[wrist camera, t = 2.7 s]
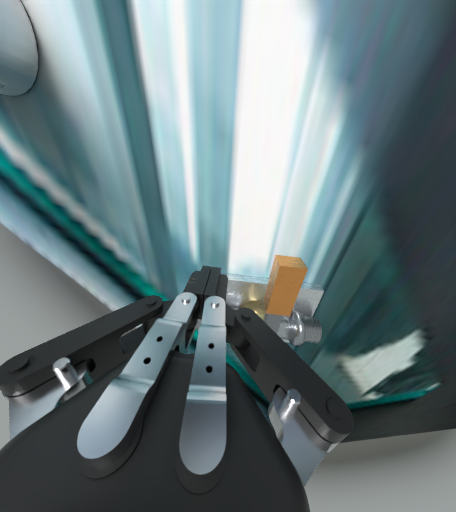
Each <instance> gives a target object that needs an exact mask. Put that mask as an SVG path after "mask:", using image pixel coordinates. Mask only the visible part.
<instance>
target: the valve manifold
mask: <svg viewBox="0 0 456 512" xmlns="http://www.w3.org/2000/svg"><path fill="white" fill-rule="evenodd" d="M220 274H226V273H220ZM226 275H227V277H228V286H227V294H226V303H227V304H228V306H229V307H231V308H233V309H235V310H238V309H239V308H244V307H245V308H249V309H252V310H253V311H254V312H255V313H256V314H257V315H258V316H259V317H260V318H261V319H262V320H264V316H265V313H266V310H265V304H264V297H265V293H266V289H267V285H268V282H269V278H260V277H252V276H243V275H235V274H226ZM323 293H324V290H323V288H322V287H321V285H320V284H312V283H302V286H301V288H300V291H299V294H298V296H297V299H296V301H295V304H294V307H293V309H292V312H291V315H290V316H284V315H283V318H282V321H281V324H280V327H279V329H278V332H277V335H278V336H279V337H280V338H281V339H282V340H283V341H284V342H288V343H291V344H292V345H299V346H301V345H302V344H303V343H304V342H312V343H318V342H319V341H320V339H321V334H322V330H321V325H320V322H319V320H318V319H317V318H316V317H312V316H313V314H314V312H315V310H316V307H317V305H318V303H319V301H320V299H321V297H322V295H323ZM201 321H202V320H200V319H198V321H197V325H196V329H198V332H199V328H200V325H201Z"/></svg>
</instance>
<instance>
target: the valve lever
mask: <svg viewBox="0 0 456 512" xmlns="http://www.w3.org/2000/svg"><path fill="white" fill-rule="evenodd" d="M307 270H308V268H307V267H306V265H305V264H304V262H303V261H302V259H301V258H297V257H289V256H280V255H275V259H274V263H273V266H272V270H271V274H270V278H269V282H268V285H267V289H266V293H265V297H264V304H265V310H266V313H265V316H264V320H263V321H264V322H265V323H266V324H267V325H268V326H269V327H270V328H271V329H272V330H273V331H274V332H275V333H276V334H277V332H278V329H279V327H280V324H281V321H282V318H283V315H284V316H290V315H291V312H292V309H293V307H294V304H295V301H296V299H297V296H298V294H299V291H300V288H301V286H302V283H303V280H304V278H305V275H306V272H307Z"/></svg>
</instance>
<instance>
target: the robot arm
mask: <svg viewBox="0 0 456 512" xmlns="http://www.w3.org/2000/svg"><path fill="white" fill-rule="evenodd" d="M37 71H38V51H37V45H36V39H35V36H34V32H33V29H32V26H31V23H30V20H29V18H28V16H27V13H26V11H25V9H24V7H23V5H22V3H21V1H20V0H0V94H3V95H7V96H18V95H20V94H23V93H25V92H27V91H28V90H29V89H30V88H31V87H32V85H33V83H34V81H35V79H36V75H37ZM220 273H221V268H218V267H210V266H203V267H202V269H201V271H195V272H194V273H192V274H191V276H190V279H189V281H188V283H187V285H186V287H185V289H184V291H183V293H181V294H179V295H178V296H177V297H176V299H175V300H171V301H163V300H162V298H161V297H159V296H155V295H152V296H148V297H145V298H143V299H141V300H138V301H136V302H134V303H132V304H130V305H127V306H125V307H123V308H121V309H118V310H116V311H114V312H112V313H110V314H107V315H105V316H103V317H101V318H98V319H96V320H94V321H92V322H90V323H87V324H85V325H83V326H81V327H78V328H76V329H74V330H72V331H69V332H67V333H65V334H63V335H61V336H58V337H56V338H54V339H52V340H49V341H47V342H45V343H43V344H40V345H38V346H36V347H34V348H32V349H29V350H27V351H25V352H23V353H21V354H18V355H17V356H14V357H12V358H11V359H9V360H8V361H6V362H5V363H4V364H2V365H1V366H0V390H1V391H2V394H3V395H4V397H6V398H7V399H8V400H9V417H10V441H9V442H8V443H7V444H6V445H5V446H4V447H3V448H2V449H1V450H0V512H310V509H309V504H308V500H307V496H306V492H305V489H304V486H305V485H306V483H307V482H308V480H309V479H310V477H311V476H312V474H313V473H314V471H315V469H316V468H317V466H318V465H319V463H320V461H321V460H322V459H323V457H324V456H325V455H327V454H328V453H329V452H330V451H331V450H332V449H333V448H334V447H335V446H336V445H337V444H339V443H340V442H341V441H342V440H343V439H344V438H345V437H346V436H347V435H348V434H349V433H351V432H352V430H353V427H354V420H353V416H352V414H351V411H350V410H349V408H348V406H347V405H346V404H345V402H344V401H343V400H342V399H341V398H340V397H339V396H338V395H337V394H336V393H335V392H334V391H333V390H332V389H331V388H330V387H329V386H328V385H327V384H326V383H325V382H324V381H323V380H322V379H321V378H320V377H319V376H318V375H317V374H316V373H315V372H314V371H313V370H312V369H311V368H310V367H309V366H308V365H307V364H306V363H305V362H304V361H303V360H302V359H301V358H300V357H299V356H298V355H297V354H296V353H295V352H294V351H293V350H292V349H291V348H290V347H289V346H288V345H287V344H286V343H285V342H284V341H283V340H282V339H281V338H280V337H279V336H278V335H277V334H276V333H275V332H274V331H273V330H272V329H271V328H270V327H269V326H268V325H267V324H266V323H265V322H264V321H263V320H262V319H261V318H260V317H259V316H258V315H257V314H256V313H255V312H254V311H253V310H252V309H249V308H245V307H244V308H239V309H238V310H235V309H233V308H231V307H229V306H228V304H227V303H226V294H227V286H228V277H227V275H226V274H220ZM198 319H200V320H202V321H201V325H200V328H199V333H198V339H197V345H196V351H195V353H193V354H187V351H188V348H189V346H190V343H191V340H192V338H193V335H194V332H195V330H196V325H197V321H198ZM140 324H142V326H140V327H139V328H137V329H135V330H133V331H131V332H130V333H128V334H126V335H124V336H122V334H124V333H125V332H127V331H129V330H131V329H133V328H134V327H136V326H138V325H140ZM121 336H122V337H121ZM226 342H228V343H230V345H231V348H232V349H233V351H234V352H235V354H236V355H237V357H238V358H239V359H240V361H241V362H242V364H243V365H244V367H245V368H246V369H247V371H248V372H249V374H250V375H251V377H252V378H253V380H254V381H255V382H256V384H257V385H258V387H259V388H260V390H261V391H262V392H263V394H264V395H265V397H266V398H267V400H268V401H269V402H270V405H269V418H270V421H271V423H272V425H273V427H274V429H275V432H276V435H275V433H274V432H273V430H272V428H271V427H270V425H269V423H268V422H267V420H266V418H265V417H264V415H263V413H262V412H261V410H260V408H259V407H258V405H257V403H256V402H255V400H254V398H253V397H252V395H251V393H250V392H249V390H248V389H247V387H246V385H245V384H244V382H243V380H242V379H241V377H240V375H239V374H238V373H237V371H236V370H235V369H234V368H233V367H232V366H230V365H229V364H228V363H226ZM276 436H277V437H276Z"/></svg>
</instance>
